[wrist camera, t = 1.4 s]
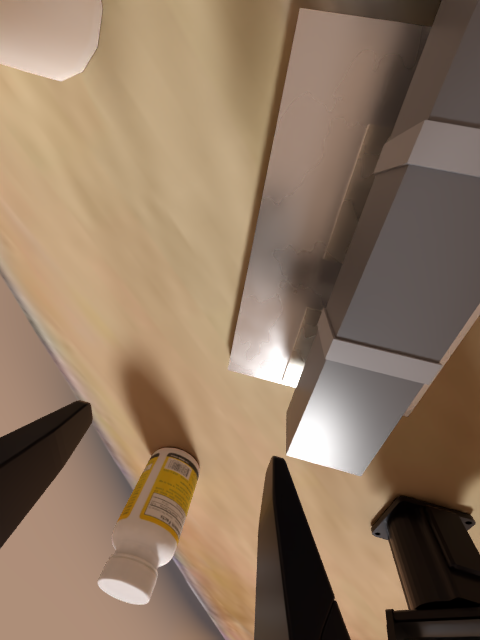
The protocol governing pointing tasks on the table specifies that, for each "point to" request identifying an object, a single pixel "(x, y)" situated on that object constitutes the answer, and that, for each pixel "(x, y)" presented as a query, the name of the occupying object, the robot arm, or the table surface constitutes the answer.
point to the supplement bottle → (150, 526)
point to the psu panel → (321, 182)
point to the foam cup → (49, 35)
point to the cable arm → (401, 262)
